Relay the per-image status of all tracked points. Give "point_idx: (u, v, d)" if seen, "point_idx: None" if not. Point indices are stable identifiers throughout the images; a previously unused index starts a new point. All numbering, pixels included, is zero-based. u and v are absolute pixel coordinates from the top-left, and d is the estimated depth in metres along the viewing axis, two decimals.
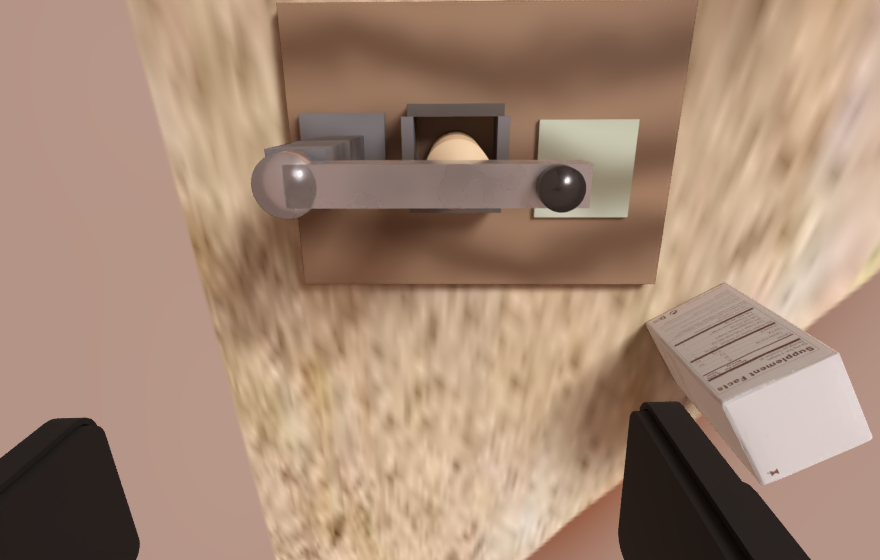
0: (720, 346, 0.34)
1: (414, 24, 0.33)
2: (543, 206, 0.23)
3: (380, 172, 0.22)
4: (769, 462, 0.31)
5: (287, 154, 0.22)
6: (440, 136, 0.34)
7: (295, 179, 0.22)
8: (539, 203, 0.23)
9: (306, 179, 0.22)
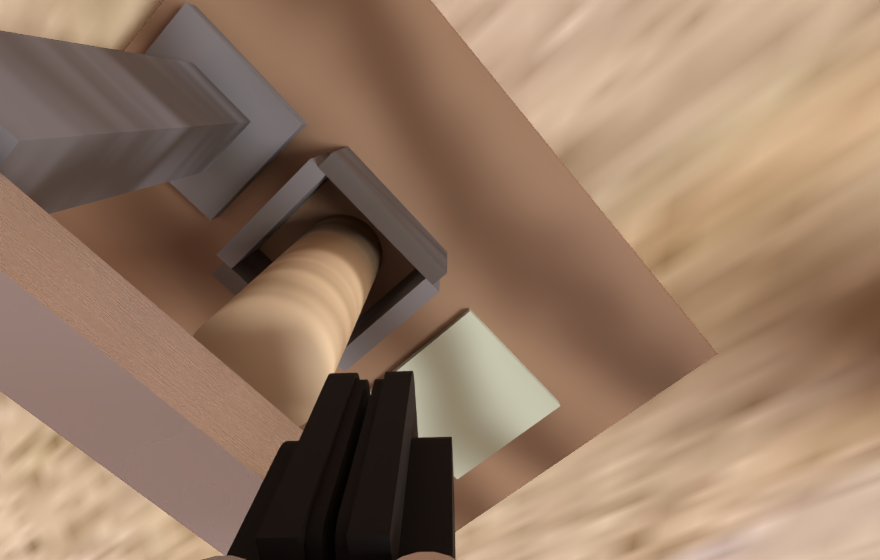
0: None
1: (441, 68, 0.20)
2: None
3: (38, 323, 0.08)
4: None
5: None
6: (341, 225, 0.20)
7: None
8: None
9: None
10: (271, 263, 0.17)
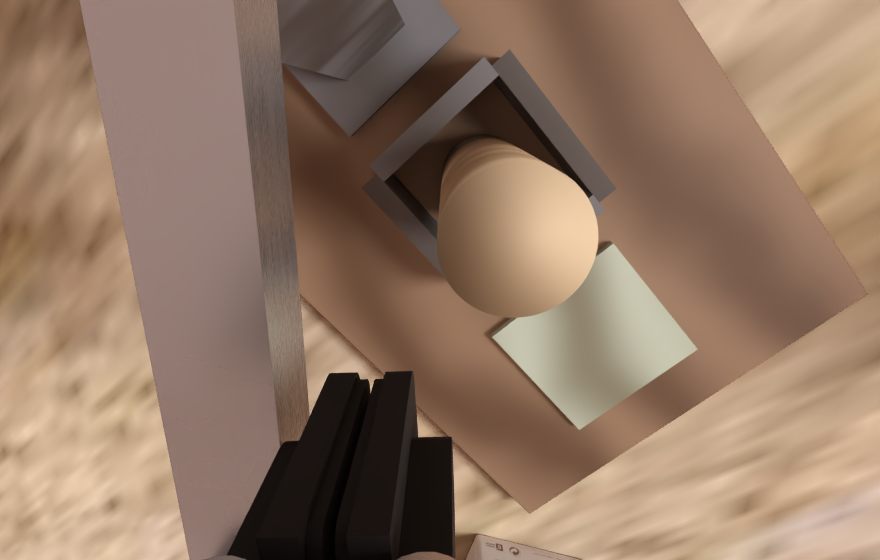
0: None
1: None
2: None
3: (230, 205, 0.07)
4: None
5: None
6: (499, 138, 0.19)
7: None
8: None
9: None
10: (459, 159, 0.15)
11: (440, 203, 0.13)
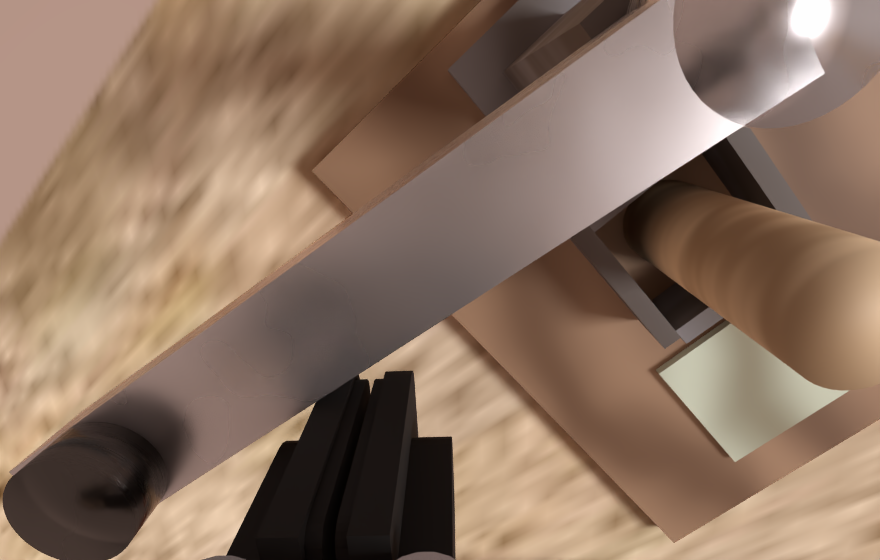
0: None
1: None
2: (93, 418, 0.08)
3: (520, 242, 0.07)
4: None
5: (812, 117, 0.07)
6: None
7: (762, 54, 0.06)
8: (108, 416, 0.08)
9: (728, 80, 0.06)
10: (710, 218, 0.16)
11: (730, 271, 0.14)
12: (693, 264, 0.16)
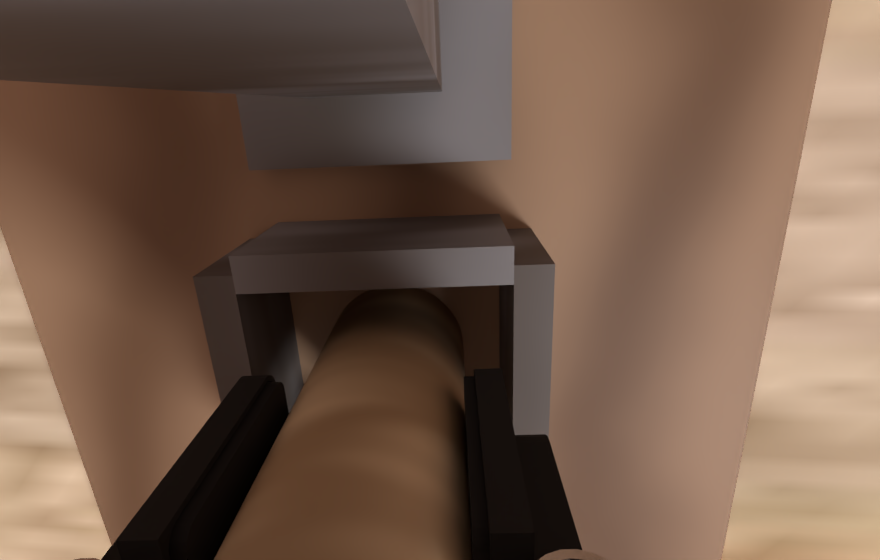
0: None
1: (730, 237, 0.12)
2: None
3: None
4: None
5: None
6: (450, 343, 0.11)
7: None
8: None
9: None
10: (353, 417, 0.07)
11: None
12: (257, 480, 0.07)
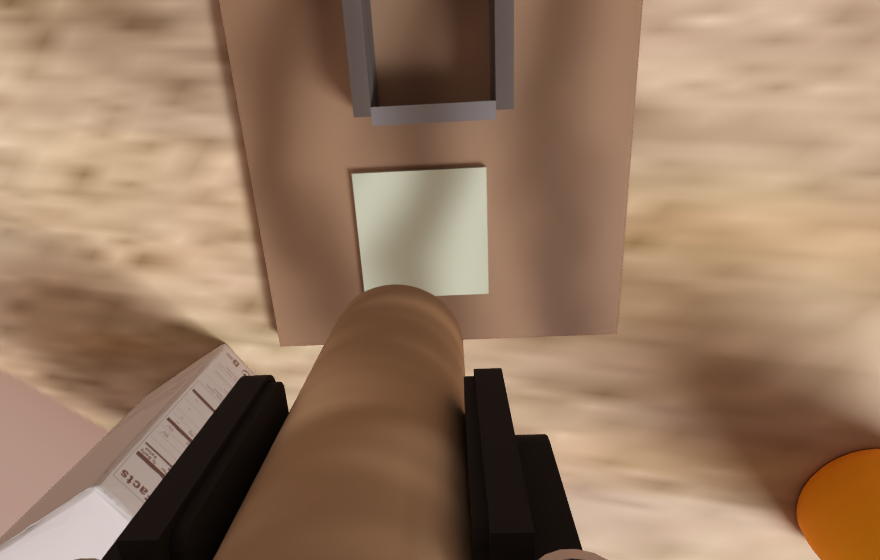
0: None
1: None
2: None
3: None
4: None
5: None
6: (450, 343, 0.11)
7: None
8: None
9: None
10: (353, 416, 0.07)
11: None
12: (257, 479, 0.07)
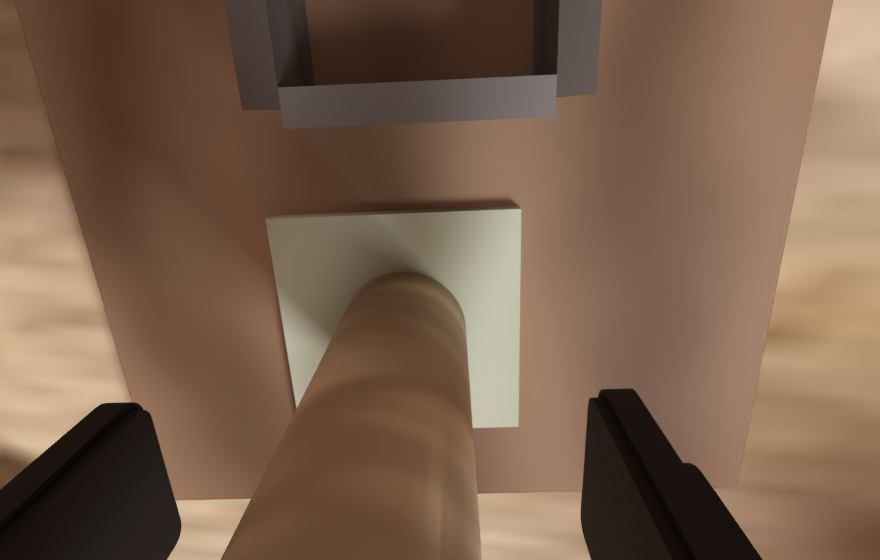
0: None
1: None
2: None
3: None
4: None
5: None
6: (454, 325, 0.12)
7: None
8: None
9: None
10: (368, 384, 0.08)
11: (257, 518, 0.06)
12: (284, 438, 0.08)
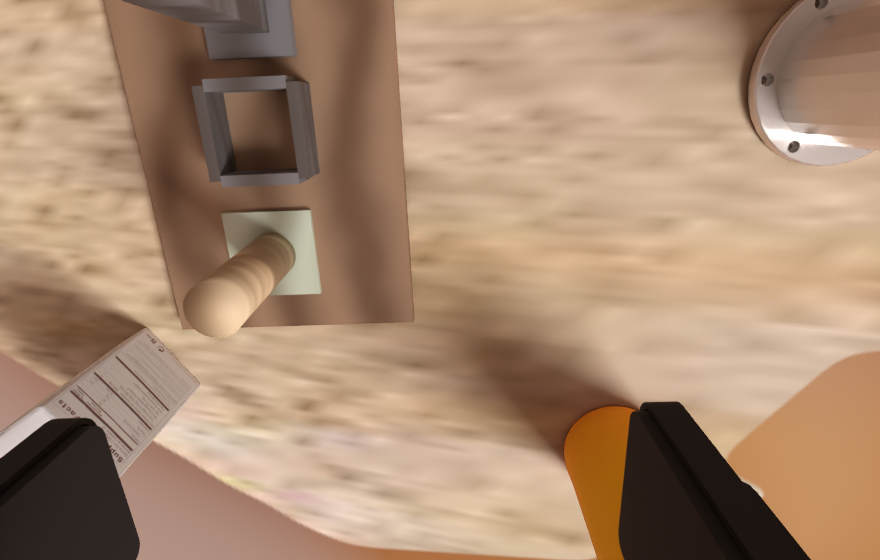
0: (118, 393, 0.37)
1: (378, 86, 0.36)
2: None
3: None
4: None
5: None
6: (282, 249, 0.37)
7: None
8: None
9: None
10: (241, 255, 0.33)
11: (211, 273, 0.31)
12: None
